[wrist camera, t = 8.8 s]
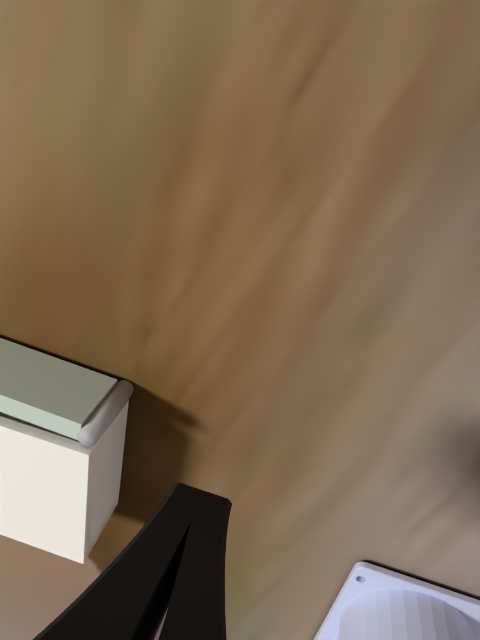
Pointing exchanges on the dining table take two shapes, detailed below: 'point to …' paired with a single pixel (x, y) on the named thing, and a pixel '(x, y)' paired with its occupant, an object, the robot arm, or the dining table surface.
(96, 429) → the door
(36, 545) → the cabinet
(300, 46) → the dining table surface
